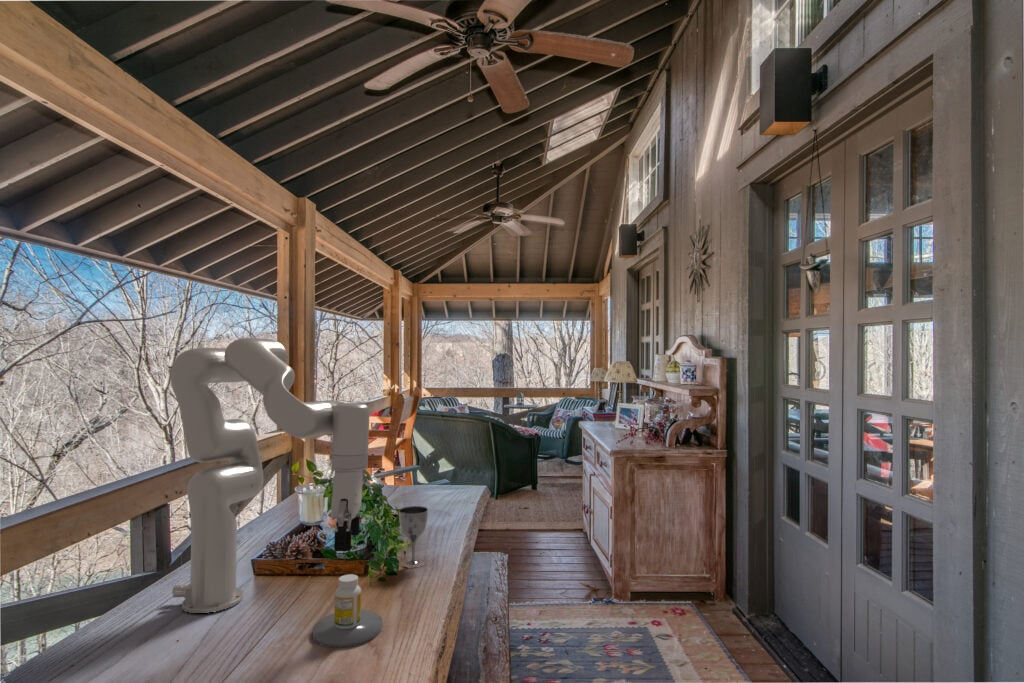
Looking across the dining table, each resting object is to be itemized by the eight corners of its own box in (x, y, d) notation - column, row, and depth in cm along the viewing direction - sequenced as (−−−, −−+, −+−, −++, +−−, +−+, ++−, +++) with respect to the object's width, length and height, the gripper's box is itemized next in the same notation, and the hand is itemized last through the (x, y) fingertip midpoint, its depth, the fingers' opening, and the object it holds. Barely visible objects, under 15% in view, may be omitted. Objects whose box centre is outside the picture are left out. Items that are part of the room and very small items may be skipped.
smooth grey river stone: (305, 649, 107) (305, 643, 107) (321, 616, 121) (321, 611, 121) (377, 645, 109) (377, 639, 109) (385, 613, 123) (386, 607, 123)
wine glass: (421, 570, 148) (421, 514, 149) (394, 567, 150) (394, 512, 150) (431, 559, 156) (431, 506, 156) (405, 557, 158) (405, 505, 158)
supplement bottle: (343, 632, 111) (344, 585, 112) (329, 624, 115) (329, 578, 115) (366, 623, 115) (366, 577, 116) (351, 615, 119) (352, 571, 119)
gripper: (339, 454, 124) (337, 529, 124) (322, 470, 107) (319, 557, 107) (373, 454, 125) (371, 529, 125) (361, 470, 108) (358, 557, 108)
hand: (347, 542), depth 116 cm, fingers open, 9 cm apart
